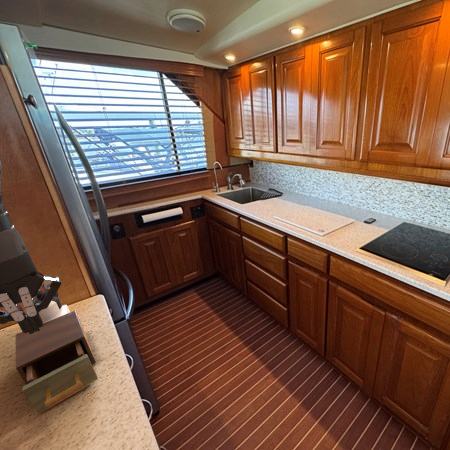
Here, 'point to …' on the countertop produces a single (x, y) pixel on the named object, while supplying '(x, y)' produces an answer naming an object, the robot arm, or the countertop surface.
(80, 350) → the drawer
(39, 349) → the cabinet
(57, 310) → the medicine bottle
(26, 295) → the robot arm
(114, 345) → the countertop surface
